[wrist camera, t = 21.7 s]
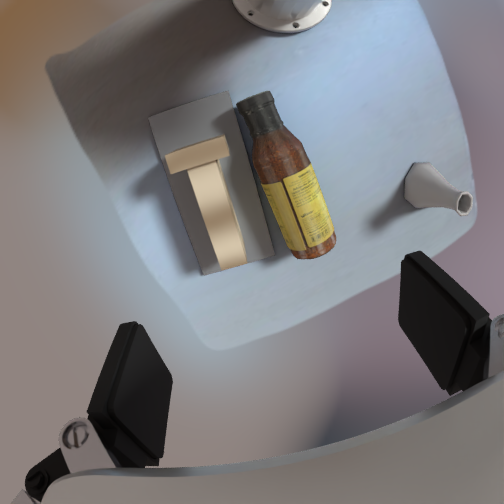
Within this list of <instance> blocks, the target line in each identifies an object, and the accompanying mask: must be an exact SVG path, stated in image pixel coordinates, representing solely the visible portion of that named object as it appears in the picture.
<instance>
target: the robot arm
mask: <svg viewBox="0 0 504 504" xmlns="http://www.w3.org/2000/svg"><path fill="white" fill-rule="evenodd" d="M232 2H233V4H234V6H235V8H236V9H237V11H238V12H239V13H240V14H241V15H242V16H243V17H244V18H245V19H246V20H248V21H249V22H250V23H252V24H254V25H256V26H258V27H260V28H262V29H265V30H268V31H273V32H278V33H296V32H301V31H305V30H308V29H310V28H312V27H314V26H316V25H317V24H318V23H320V22H321V21H322V20H323V19H324V18H325V17H326V15H327V14H328V12H329V11H330V8H331V5H332V0H232ZM323 5H325V6H323ZM249 14H252V15H253V16H249ZM293 26H296V28H294V27H293ZM398 316H399V317H398V320H399V325H400V327H401V328H402V330H403V331H404V333H405V334H406V336H407V337H408V339H409V340H410V341H411V343H412V344H413V346H414V347H415V349H416V350H417V352H418V353H419V355H420V356H421V358H422V359H423V361H424V362H425V364H426V365H427V367H428V369H429V370H430V372H431V373H432V375H433V376H434V378H435V380H436V381H437V383H438V384H439V386H440V387H441V389H443V390H445V389H446V390H447V392H448V394H449V395H450V396H451V395H452V394H454V393H456V392H458V391H460V390H462V391H463V392H461V393H459V394H457V395H455V396H453V397H451V398H449V399H447V400H445V401H443V402H441V403H439V404H437V405H435V406H432V407H430V408H428V409H426V410H424V411H422V412H419V413H417V414H415V415H412V416H411V417H408V418H405V419H403V420H401V421H398V422H395V423H393V424H390V425H388V426H385V427H382V428H380V429H377V430H374V431H372V432H368V433H365V434H362V435H359V436H356V437H353V438H350V439H347V440H343V441H340V442H336V443H333V444H330V445H326V446H322V447H318V448H314V449H310V450H306V451H302V452H297V453H292V454H288V455H283V456H278V457H273V458H266V459H260V460H254V461H248V462H240V463H233V464H223V465H213V466H200V467H182V468H181V467H180V468H145V466H159V458H162V457H163V454H164V444H165V436H166V428H167V419H168V412H169V405H170V397H171V390H172V384H173V381H172V375H171V373H170V372H169V370H168V368H167V367H166V365H165V363H164V362H163V360H162V358H161V357H160V355H159V353H158V352H157V350H156V348H155V346H154V345H153V343H152V342H151V339H150V338H149V336H148V334H147V332H146V330H145V329H144V327H143V326H142V325H141V324H138V323H137V322H135V321H133V322H128V323H123V324H120V326H119V328H118V330H117V333H116V335H115V337H114V340H113V343H112V345H111V347H110V350H109V352H108V355H107V357H106V360H105V363H104V365H103V368H102V370H101V373H100V376H99V378H98V381H97V384H96V387H95V389H94V392H93V395H92V398H91V401H90V404H89V407H88V410H87V413H88V414H89V415H88V419H86V418H81V417H79V418H74V419H72V420H70V421H69V422H68V423H66V424H65V425H64V427H63V428H62V430H61V432H60V434H59V445H60V448H59V449H57V450H56V451H55V452H54V453H52V454H51V455H49V456H48V457H47V458H45V459H44V460H42V461H41V462H39V463H38V464H37V465H35V466H34V467H33V468H32V469H30V470H29V472H28V474H27V476H26V479H25V487H26V491H25V490H23V489H22V490H21V491H20V492H19V494H18V495H17V496H16V498H15V499H14V500H13V501H12V503H11V504H504V314H502V315H499V316H497V317H496V318H494V319H493V321H492V320H491V319H490V318H489V313H488V312H487V311H486V310H485V309H484V308H483V307H482V306H481V305H480V304H479V303H478V302H477V301H476V300H475V299H474V298H473V297H472V296H471V295H470V294H469V293H467V291H466V290H464V289H463V288H462V287H461V286H460V285H459V284H458V283H457V282H456V281H455V280H454V279H453V278H451V277H450V276H449V275H448V274H447V273H446V272H445V271H444V270H442V269H441V268H440V267H439V266H438V265H437V264H436V263H435V262H433V261H432V260H431V259H430V258H429V257H428V256H426V255H425V254H424V253H423V252H422V251H416V252H413V253H410V254H407V255H405V258H404V260H402V262H401V282H400V301H399V314H398Z"/></svg>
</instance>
